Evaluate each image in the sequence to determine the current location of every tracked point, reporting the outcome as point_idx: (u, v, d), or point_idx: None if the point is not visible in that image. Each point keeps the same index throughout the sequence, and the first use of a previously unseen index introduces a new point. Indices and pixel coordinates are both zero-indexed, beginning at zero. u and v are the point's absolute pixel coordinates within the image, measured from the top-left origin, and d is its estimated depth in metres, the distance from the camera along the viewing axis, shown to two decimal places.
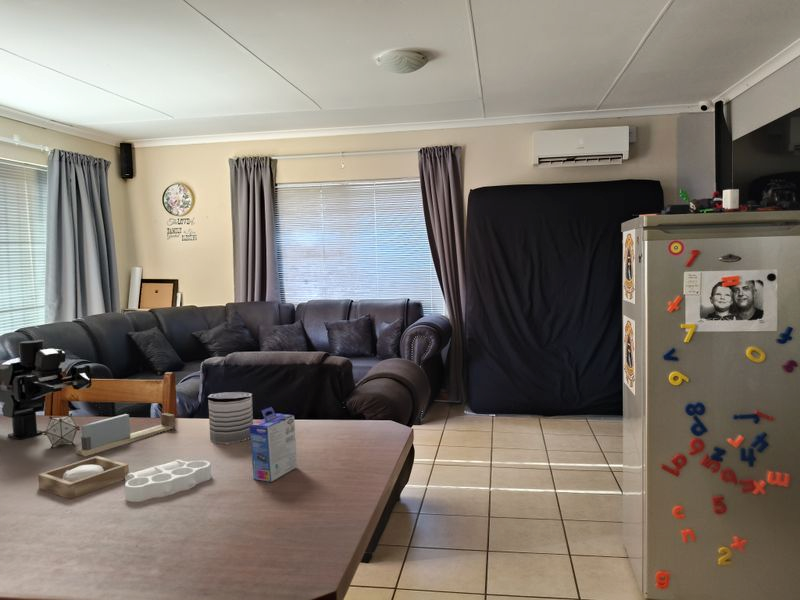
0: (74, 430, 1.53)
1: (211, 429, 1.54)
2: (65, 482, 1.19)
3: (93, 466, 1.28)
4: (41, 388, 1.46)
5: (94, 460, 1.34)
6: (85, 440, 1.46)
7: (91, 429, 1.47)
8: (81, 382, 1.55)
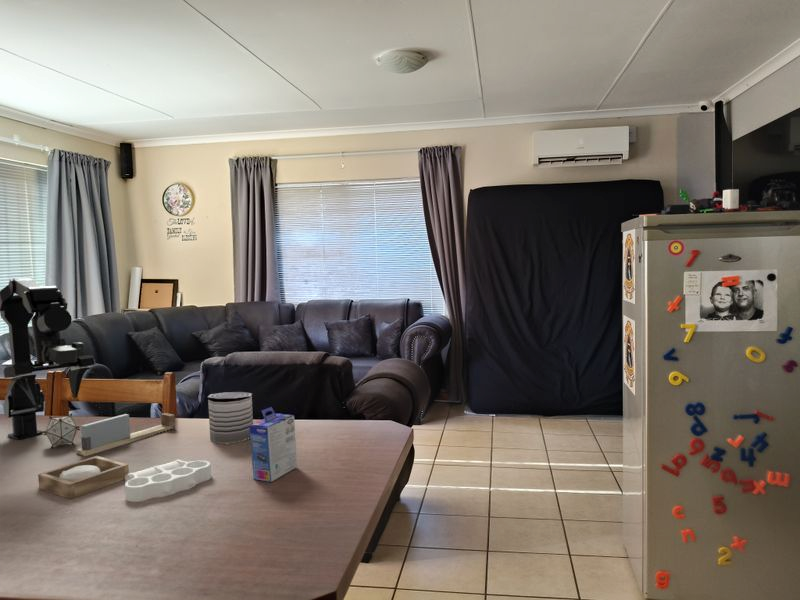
0: (74, 430, 1.53)
1: (211, 429, 1.54)
2: (65, 482, 1.19)
3: (89, 467, 1.27)
4: (29, 391, 1.36)
5: (94, 460, 1.34)
6: (85, 440, 1.46)
7: (91, 429, 1.47)
8: (72, 382, 1.45)
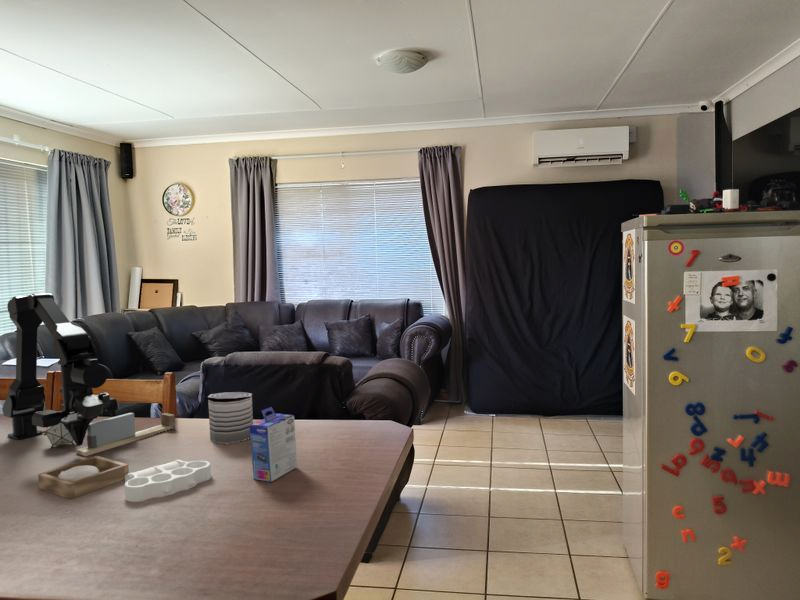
0: None
1: (211, 429, 1.54)
2: (65, 482, 1.19)
3: (88, 467, 1.27)
4: (73, 433, 1.44)
5: (94, 460, 1.34)
6: (91, 438, 1.47)
7: (96, 428, 1.48)
8: None
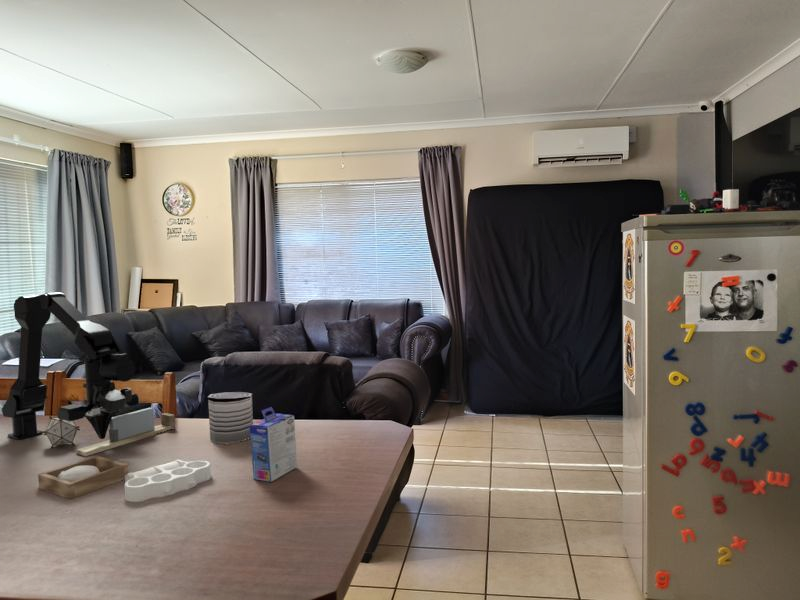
0: (74, 430, 1.53)
1: (211, 429, 1.54)
2: (65, 482, 1.19)
3: (88, 467, 1.27)
4: (96, 427, 1.49)
5: (94, 460, 1.34)
6: (113, 432, 1.52)
7: (118, 422, 1.53)
8: None
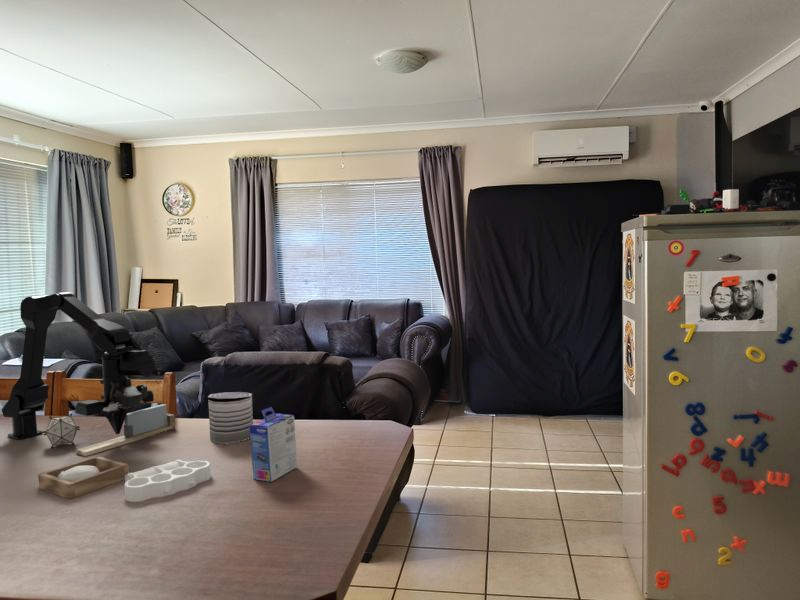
0: (74, 430, 1.53)
1: (211, 429, 1.54)
2: (65, 482, 1.19)
3: (88, 467, 1.27)
4: (113, 422, 1.53)
5: (94, 460, 1.34)
6: (127, 428, 1.56)
7: (132, 418, 1.57)
8: None
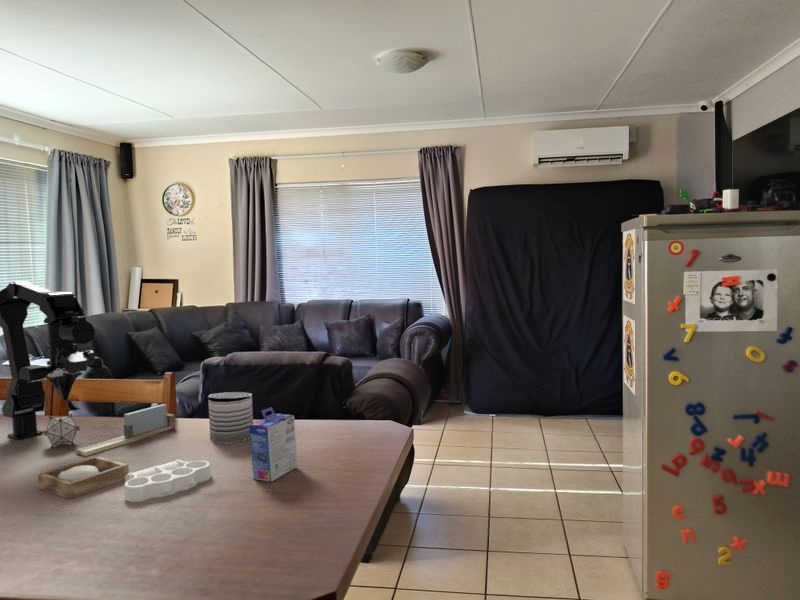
0: (74, 430, 1.53)
1: (211, 429, 1.54)
2: (65, 482, 1.19)
3: (88, 467, 1.27)
4: (58, 389, 1.50)
5: (94, 460, 1.34)
6: (127, 428, 1.56)
7: (132, 418, 1.57)
8: None
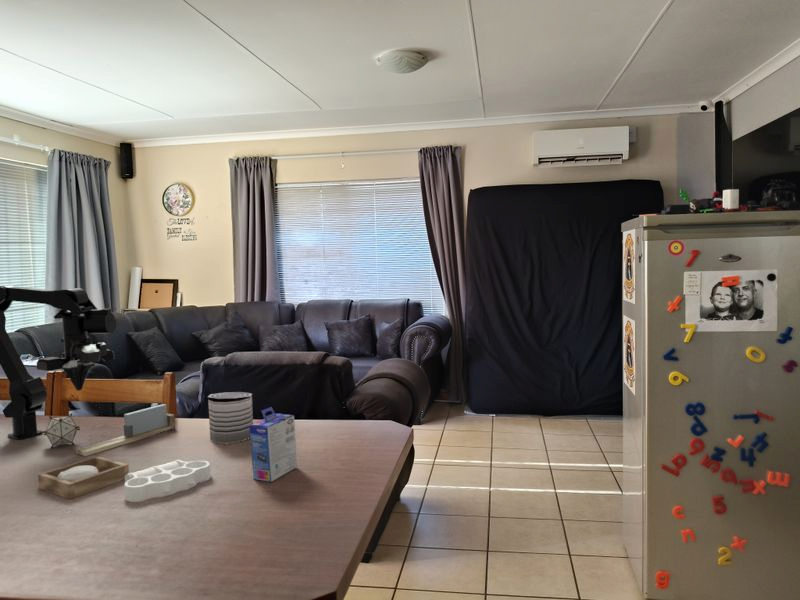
0: (74, 430, 1.53)
1: (211, 429, 1.54)
2: (65, 482, 1.19)
3: (88, 467, 1.27)
4: (73, 379, 1.61)
5: (94, 460, 1.34)
6: (127, 428, 1.56)
7: (132, 418, 1.57)
8: None
